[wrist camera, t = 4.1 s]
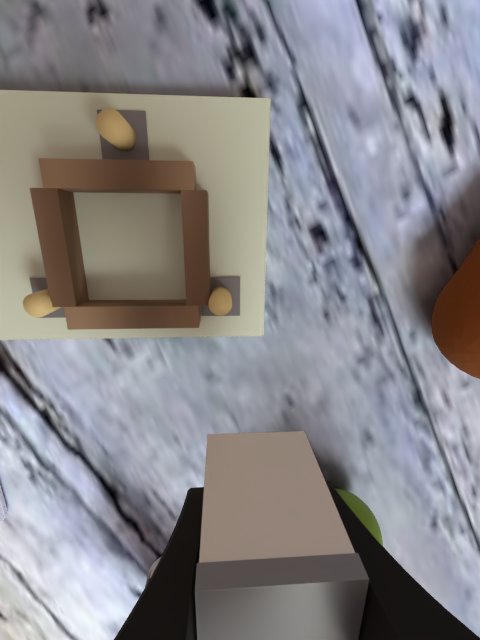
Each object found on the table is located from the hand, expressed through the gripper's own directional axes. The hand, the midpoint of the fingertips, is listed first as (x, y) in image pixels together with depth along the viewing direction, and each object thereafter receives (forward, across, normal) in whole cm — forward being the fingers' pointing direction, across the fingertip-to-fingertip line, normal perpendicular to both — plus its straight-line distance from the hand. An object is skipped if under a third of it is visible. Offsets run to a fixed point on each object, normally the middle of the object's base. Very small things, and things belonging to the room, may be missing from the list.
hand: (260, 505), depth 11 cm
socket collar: (+8, +6, -9) cm, 13 cm away
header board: (+9, +8, -10) cm, 16 cm away
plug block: (+2, 0, 0) cm, 2 cm away
